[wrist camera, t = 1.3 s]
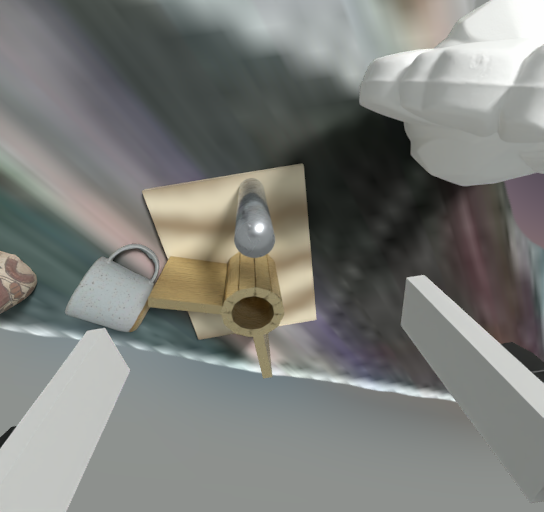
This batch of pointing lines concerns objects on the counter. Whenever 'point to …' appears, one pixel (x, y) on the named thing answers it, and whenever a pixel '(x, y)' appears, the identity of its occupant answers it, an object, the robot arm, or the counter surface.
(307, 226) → the birch board
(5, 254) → the figurine
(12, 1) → the counter surface
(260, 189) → the hinge pin
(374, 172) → the counter surface
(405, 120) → the decorative rooster
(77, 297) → the ceramic mug
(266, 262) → the brass hinge
